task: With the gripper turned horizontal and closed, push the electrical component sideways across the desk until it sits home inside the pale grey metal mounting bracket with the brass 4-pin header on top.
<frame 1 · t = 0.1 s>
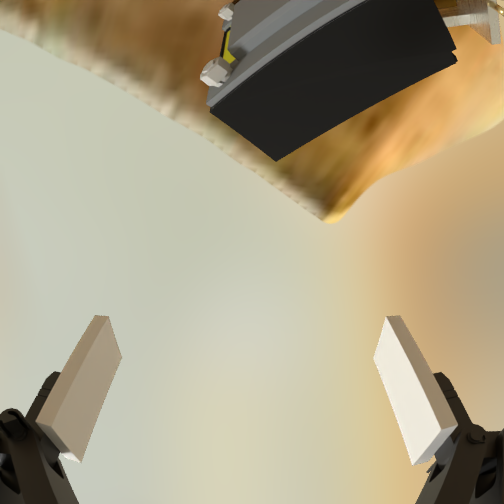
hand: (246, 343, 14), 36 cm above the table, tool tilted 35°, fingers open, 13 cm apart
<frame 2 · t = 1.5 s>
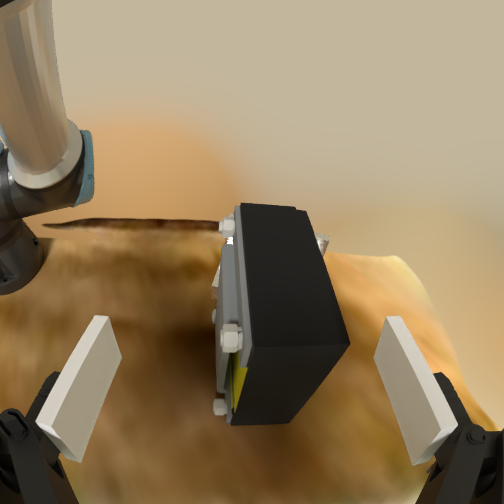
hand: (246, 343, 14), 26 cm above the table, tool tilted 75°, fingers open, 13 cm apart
electrical component: (248, 366, 42), on the table
mounting bracket: (265, 286, 53), on the table
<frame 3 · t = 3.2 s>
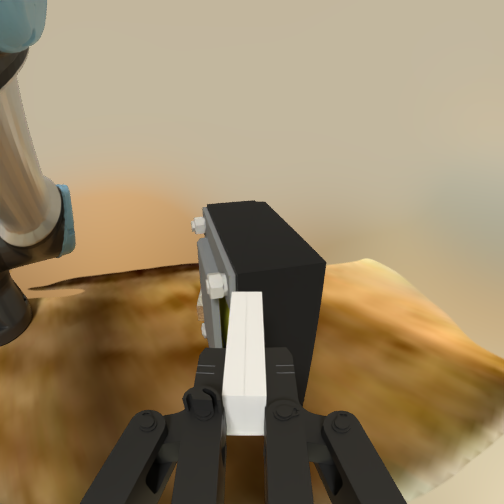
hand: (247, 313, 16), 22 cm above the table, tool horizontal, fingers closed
electrical component: (247, 368, 41), on the table
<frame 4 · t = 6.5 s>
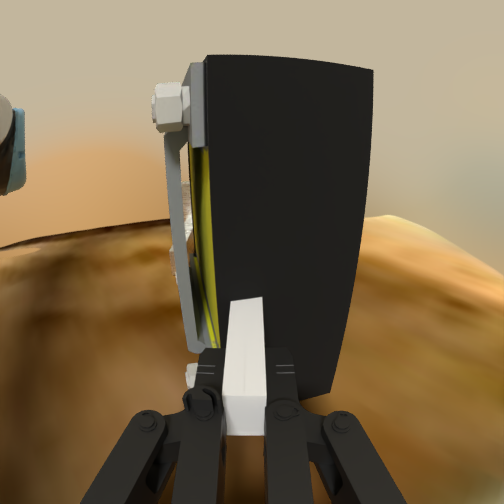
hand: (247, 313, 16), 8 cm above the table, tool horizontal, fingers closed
electrical component: (241, 330, 27), on the table, touching gripper
mounting bracket: (243, 255, 40), on the table
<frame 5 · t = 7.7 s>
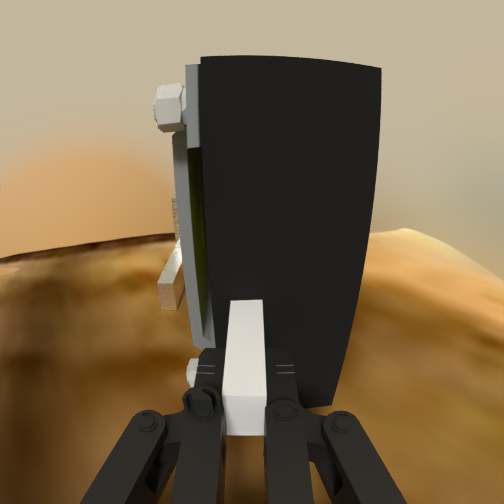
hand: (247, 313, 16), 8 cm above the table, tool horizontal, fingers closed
electrical component: (256, 331, 27), on the table, touching gripper
mounting bracket: (245, 283, 34), on the table
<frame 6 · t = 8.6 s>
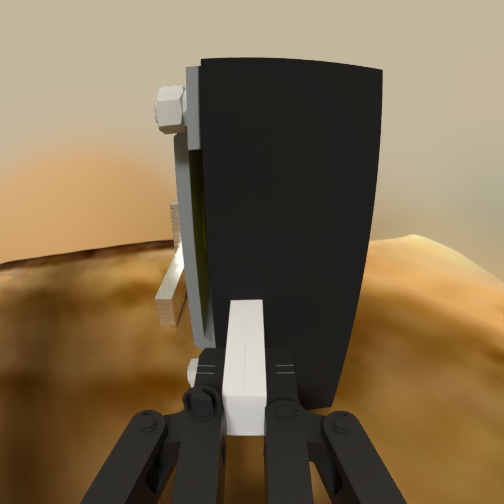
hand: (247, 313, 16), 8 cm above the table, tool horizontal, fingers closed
electrical component: (258, 332, 27), on the table, touching gripper
mounting bracket: (249, 296, 32), on the table
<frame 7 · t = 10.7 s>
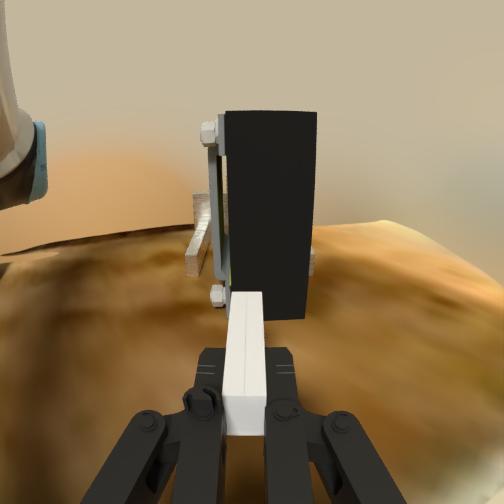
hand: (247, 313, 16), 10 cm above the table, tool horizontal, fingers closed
electrical component: (256, 279, 40), on the table
mounting bracket: (250, 258, 44), on the table
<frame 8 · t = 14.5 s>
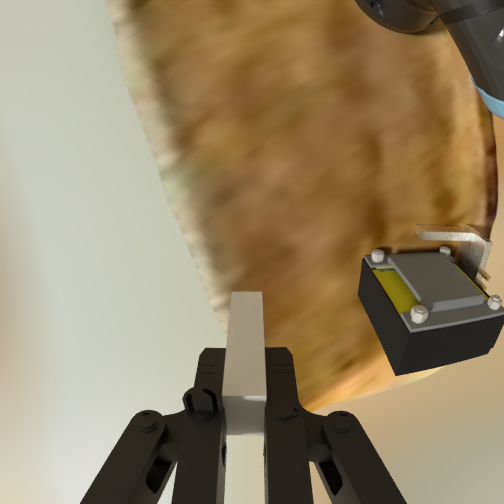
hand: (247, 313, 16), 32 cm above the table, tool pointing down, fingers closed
electrical component: (404, 269, 52), on the table
mounting bracket: (429, 265, 52), on the table
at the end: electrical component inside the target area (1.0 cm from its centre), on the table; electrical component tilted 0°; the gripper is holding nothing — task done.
